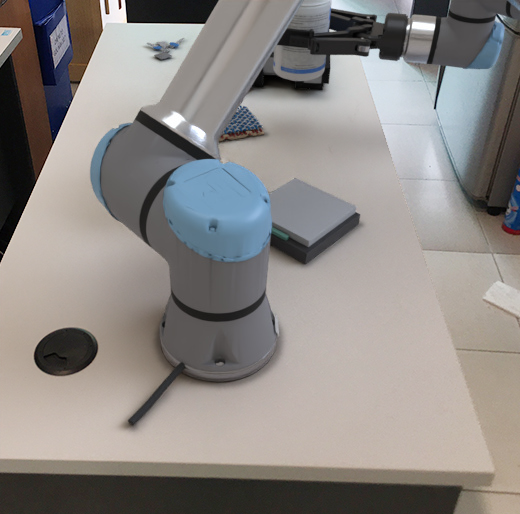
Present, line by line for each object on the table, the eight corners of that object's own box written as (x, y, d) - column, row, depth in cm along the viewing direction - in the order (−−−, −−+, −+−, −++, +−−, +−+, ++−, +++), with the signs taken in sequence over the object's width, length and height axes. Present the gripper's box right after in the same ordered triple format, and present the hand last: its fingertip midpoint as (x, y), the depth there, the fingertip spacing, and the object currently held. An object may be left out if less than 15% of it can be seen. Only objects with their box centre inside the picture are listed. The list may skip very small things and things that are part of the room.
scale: (305, 264, 94) (307, 247, 92) (236, 226, 101) (236, 209, 99) (358, 224, 101) (361, 207, 99) (290, 191, 108) (292, 175, 106)
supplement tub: (334, 75, 116) (345, -10, 106) (294, 87, 112) (301, 0, 102) (301, 58, 122) (308, -24, 112) (262, 69, 118) (266, -15, 108)
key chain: (169, 61, 149) (168, 58, 149) (136, 58, 151) (135, 54, 150) (185, 40, 159) (185, 36, 159) (154, 37, 161) (153, 34, 160)
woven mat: (214, 144, 120) (214, 134, 119) (198, 119, 128) (198, 110, 127) (265, 136, 123) (266, 126, 122) (247, 112, 130) (247, 103, 129)
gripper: (397, 85, 103) (263, 70, 107) (404, 37, 119) (287, 26, 123) (406, 38, 98) (265, 25, 102) (412, -5, 114) (290, -15, 118)
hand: (277, 25), depth 113 cm, fingers closed on supplement tub, 9 cm apart
